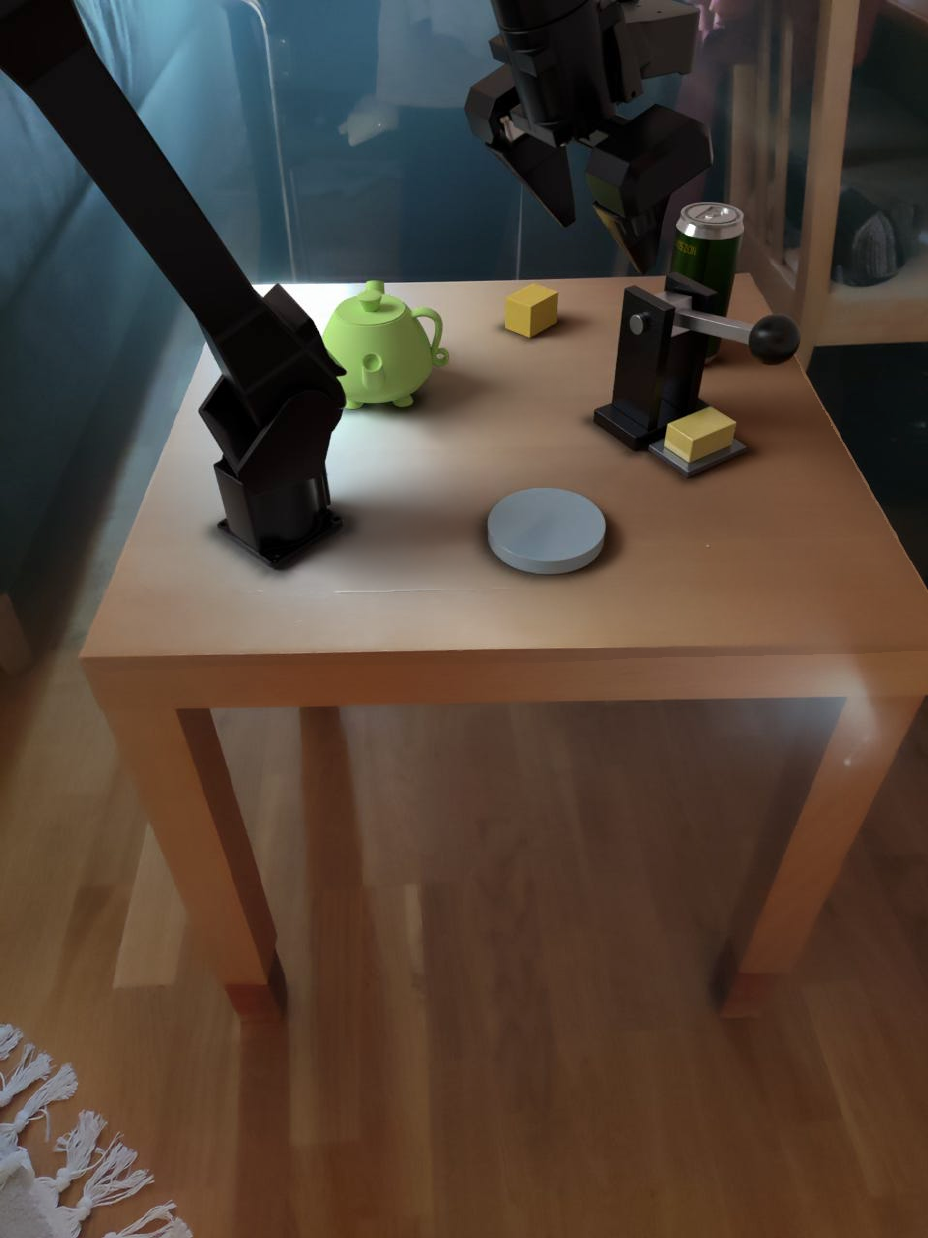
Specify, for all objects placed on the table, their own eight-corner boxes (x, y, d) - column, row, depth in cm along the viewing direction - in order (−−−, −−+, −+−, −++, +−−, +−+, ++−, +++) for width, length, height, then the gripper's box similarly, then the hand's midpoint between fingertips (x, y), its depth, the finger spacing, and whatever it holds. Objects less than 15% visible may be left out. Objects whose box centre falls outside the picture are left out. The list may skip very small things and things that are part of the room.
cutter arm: (809, 362, 58) (813, 312, 56) (774, 376, 57) (777, 326, 55) (670, 326, 68) (670, 283, 66) (638, 338, 66) (637, 294, 65)
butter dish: (745, 451, 68) (752, 423, 66) (687, 477, 66) (692, 449, 64) (705, 426, 71) (710, 398, 69) (647, 450, 68) (652, 421, 67)
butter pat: (529, 338, 82) (530, 306, 80) (504, 328, 83) (505, 297, 81) (556, 322, 84) (558, 291, 82) (531, 313, 85) (533, 282, 83)
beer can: (695, 373, 76) (721, 231, 68) (645, 352, 79) (664, 213, 71) (731, 352, 79) (760, 212, 71) (681, 332, 82) (703, 196, 73)
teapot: (472, 386, 76) (470, 289, 70) (374, 443, 70) (364, 343, 64) (381, 345, 81) (373, 252, 75) (283, 394, 75) (266, 298, 69)
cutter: (710, 419, 71) (736, 288, 64) (633, 451, 68) (651, 317, 61) (667, 392, 74) (688, 264, 67) (592, 422, 71) (605, 291, 64)
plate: (555, 591, 57) (556, 577, 56) (463, 539, 61) (463, 526, 60) (627, 532, 61) (629, 518, 60) (537, 487, 65) (537, 473, 64)
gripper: (781, -57, 43) (796, 225, 55) (569, -96, 55) (620, 143, 67) (598, 70, 43) (654, 326, 55) (423, 3, 54) (501, 226, 67)
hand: (606, 246), depth 61 cm, fingers open, 9 cm apart
